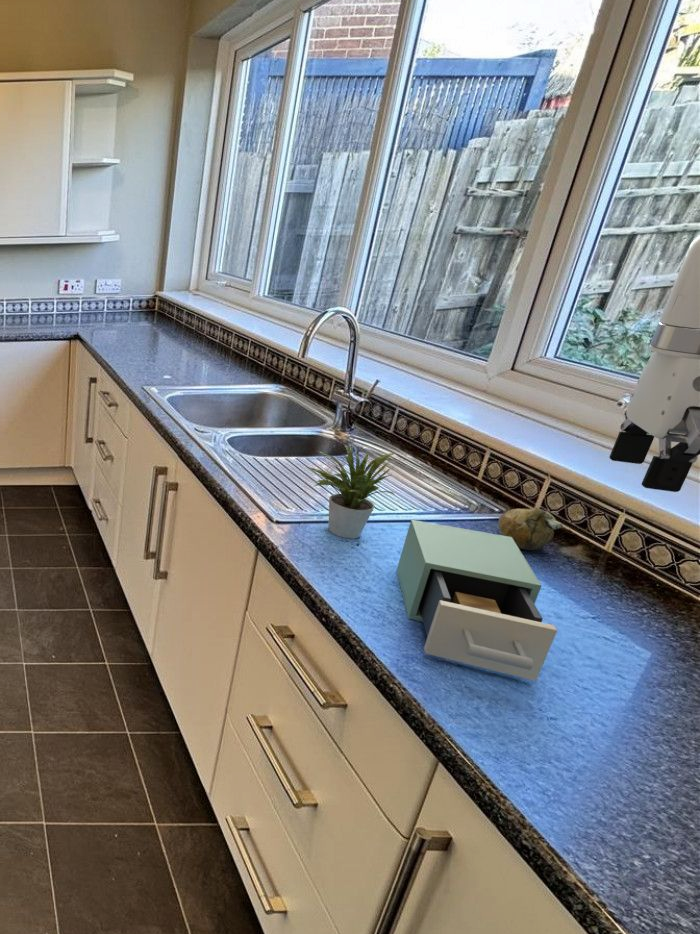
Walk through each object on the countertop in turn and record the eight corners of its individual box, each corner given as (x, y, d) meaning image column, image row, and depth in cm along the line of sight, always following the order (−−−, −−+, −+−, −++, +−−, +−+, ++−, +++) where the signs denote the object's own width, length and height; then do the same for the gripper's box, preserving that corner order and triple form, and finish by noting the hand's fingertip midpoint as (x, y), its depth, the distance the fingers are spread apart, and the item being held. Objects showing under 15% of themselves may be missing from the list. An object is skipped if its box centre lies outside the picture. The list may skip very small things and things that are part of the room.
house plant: (335, 506, 125) (353, 430, 119) (407, 536, 113) (431, 454, 107) (286, 521, 119) (303, 442, 113) (357, 554, 107) (380, 468, 101)
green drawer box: (518, 644, 85) (541, 585, 81) (408, 618, 91) (425, 562, 87) (492, 590, 97) (511, 536, 93) (396, 570, 102) (411, 519, 99)
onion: (547, 542, 110) (563, 502, 107) (550, 561, 104) (566, 519, 101) (492, 530, 115) (506, 491, 112) (492, 547, 109) (506, 507, 106)
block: (495, 599, 84) (503, 617, 80) (485, 626, 86) (493, 644, 82) (455, 591, 86) (461, 608, 82) (446, 617, 88) (452, 635, 84)
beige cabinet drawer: (548, 707, 73) (571, 654, 70) (430, 676, 78) (448, 625, 75) (507, 622, 88) (525, 575, 85) (410, 600, 93) (424, 555, 90)
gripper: (794, 359, 64) (721, 508, 70) (705, 331, 78) (651, 457, 84) (691, 353, 67) (630, 495, 73) (624, 327, 81) (577, 448, 87)
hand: (641, 474), depth 79 cm, fingers open, 9 cm apart
